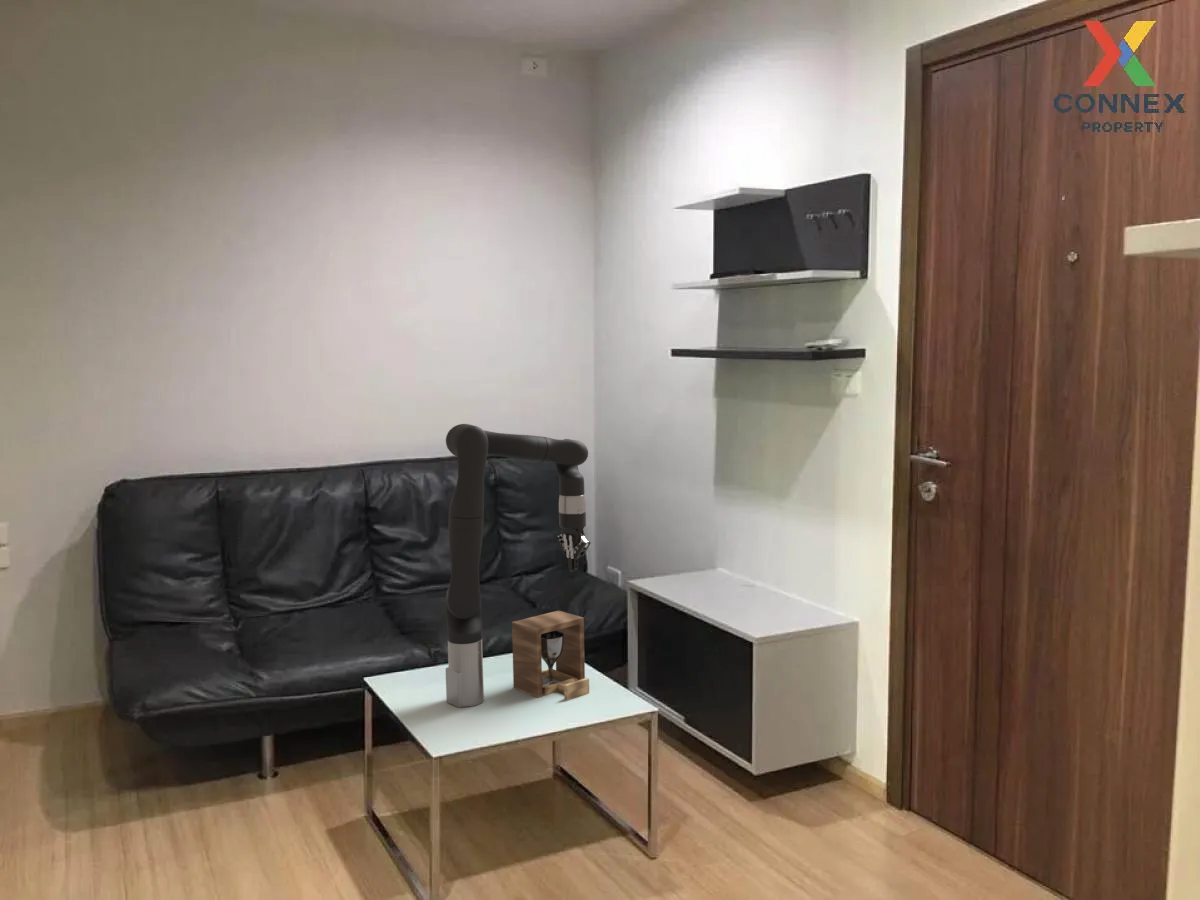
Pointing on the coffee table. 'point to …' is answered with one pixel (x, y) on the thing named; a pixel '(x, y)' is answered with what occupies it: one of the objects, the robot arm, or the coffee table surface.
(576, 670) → the wooden arch frame
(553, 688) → the drawer
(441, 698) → the coffee table surface
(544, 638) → the wine glass
